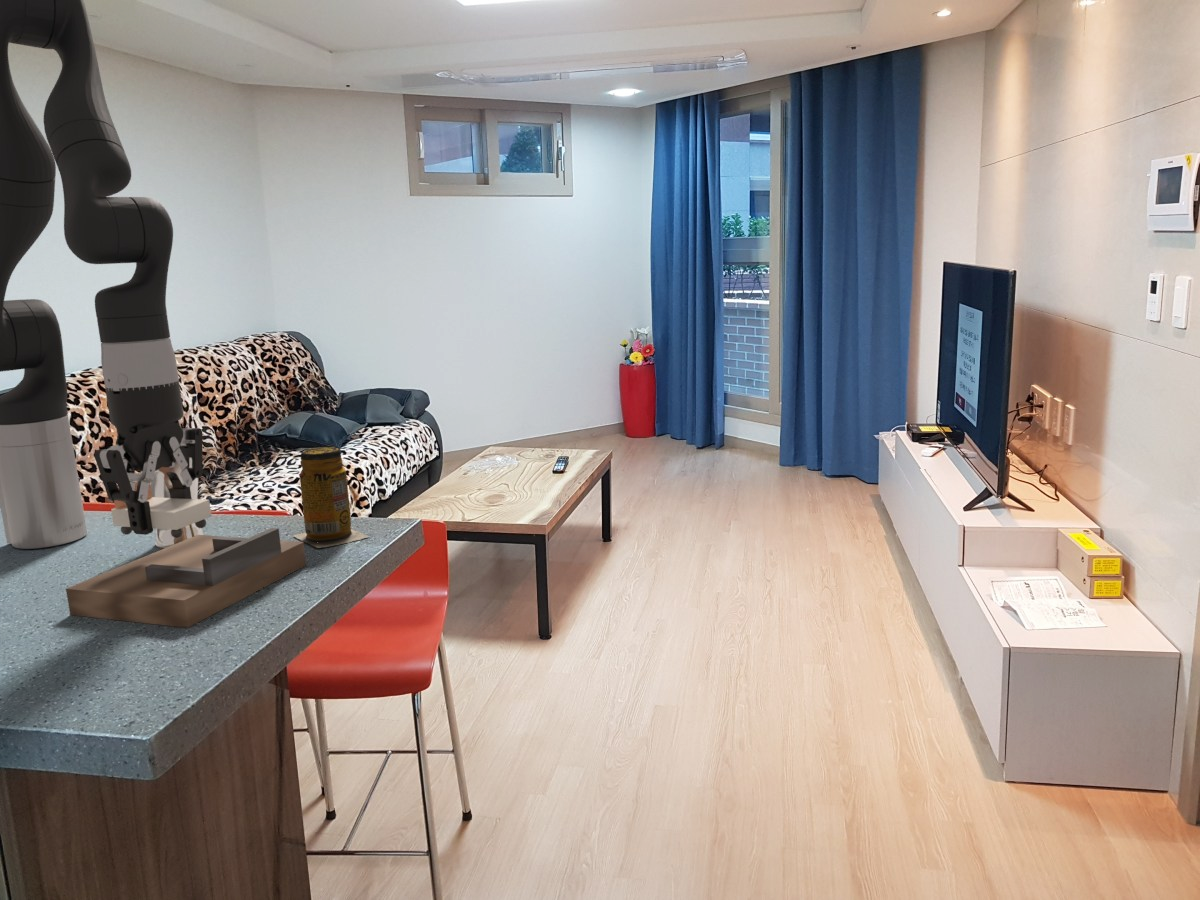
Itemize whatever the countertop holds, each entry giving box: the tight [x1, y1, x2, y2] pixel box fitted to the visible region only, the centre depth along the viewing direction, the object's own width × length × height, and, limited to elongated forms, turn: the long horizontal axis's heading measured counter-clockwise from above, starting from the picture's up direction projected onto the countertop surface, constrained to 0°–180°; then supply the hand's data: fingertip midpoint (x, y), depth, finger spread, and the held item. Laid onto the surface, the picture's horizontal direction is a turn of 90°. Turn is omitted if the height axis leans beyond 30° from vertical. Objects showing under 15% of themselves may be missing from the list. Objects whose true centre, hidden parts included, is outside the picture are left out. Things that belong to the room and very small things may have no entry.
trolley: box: [110, 482, 212, 538], centre depth 108 cm, size 9×6×6 cm, turn 71°
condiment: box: [292, 446, 370, 549], centre depth 126 cm, size 7×8×12 cm
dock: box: [65, 527, 307, 629], centre depth 108 cm, size 16×20×6 cm
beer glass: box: [140, 457, 204, 549], centre depth 126 cm, size 7×7×15 cm
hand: (163, 525), depth 108 cm, fingers closed on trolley, 5 cm apart
